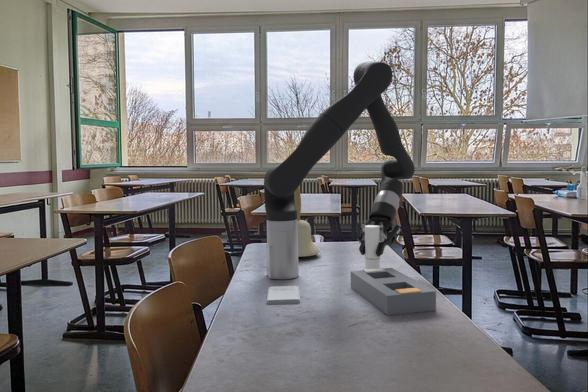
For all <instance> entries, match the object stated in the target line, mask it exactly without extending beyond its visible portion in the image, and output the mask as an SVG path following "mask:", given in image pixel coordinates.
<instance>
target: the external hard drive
mask: <svg viewBox="0 0 588 392" xmlns="http://www.w3.org/2000/svg"><path fill="white" fill-rule="evenodd" d="M266 297H267V298H266V304H267V305H277V304H278V305H279V304H281V305H282V304H283V305H284V304H300V303H301V298H300V287H299V285H283V286H282V285H281V286H278V285H276V286H275V285H274V286H269V287H268V290H267V296H266Z"/></svg>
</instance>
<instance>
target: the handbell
mask: <svg viewBox="0 0 588 392" xmlns="http://www.w3.org/2000/svg"><path fill="white" fill-rule="evenodd" d="M294 198H295V206H296V209H297V227H298V258H299V257H301V258H302V257H311V256H315V255H316V256H317V255H318V254H319V253H320V252H321V250H320V248H319V247H318V246H317V245H316V244H315V243H314V242H313V239H312V228H311V225H310V223H309V222H308V221H307V220H303V219H301V212H302V196H301V188H300V187H298V188H297V190H296V191H295V192H294Z"/></svg>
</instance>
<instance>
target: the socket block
mask: <svg viewBox="0 0 588 392" xmlns="http://www.w3.org/2000/svg"><path fill="white" fill-rule="evenodd" d="M350 288H351V289H352V290H354V291H355V292H356V293H357V294H358V295H360V296H362V297H363V298H364V299H365V300H367V302H369V303H371V304H372V305H373V306H374V307H375V308H377V309H378V310H379V311H380V312H382V313H383V314H385V316H387V317H388V316H397V315H404V314H405V315H406V314H413V313H414V314H416V313H424V312H434V311H437V294H436V293H437V291H436V290H434V289H433V288H430V287H429V286H427V285H425V284H423V283H421V282H420V281H417V280H415V279H414V278H413V277H410V276H408V275H407V274H404V273H402V272H401V271H399V270H397V269H395V268H393V267H385V268H382V267H380V268H374V269H365V268H364V269H360V270H351V271H350Z"/></svg>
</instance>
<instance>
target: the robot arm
mask: <svg viewBox="0 0 588 392" xmlns="http://www.w3.org/2000/svg"><path fill="white" fill-rule="evenodd" d="M392 69H393V68H392V67H391V66H390V64H388V63H387V62H384V61H379V60H375V61H363V62H361V63H359V64H358V65H357V66H356V67H355V69H354V71H353V82H354V84H355V86H354V87H353V88H352V89H351V90H350V91H349V92H348V93H347V94H345V95H343V96H342V97H341V98H339V99H338V100H336V101H335V102H333V103H331V105H329V106H327V108H325V109H324V110H323V111H322V112H321V113H320V114H319V115H318V116H317V117H316V118H315V120H314V121H313V122H312V123H311V124H310V126H309V127H308V128H307V129H306V131H305V132H304V134H303V136H302V138H301V140H300V142H299V144H298V145H297V146H296V148H295V149H294V150H293V151H292V152H291V153H290V154H289V156H287V157H286V158H285V159H284V160H283V161H282V162H281V163H280V164H279V165H273V166H272V167H270V168H269V169H268V170H267V171H266V172H265V175H264V179H263V194H264V195H263V197H264V208H265V209H264V210H265V215H266V218H265V219H266V242H267V243H266V244H265V254H266V257H265V259H266V275H267V277H268V278H269V280H290V279H295V278H297V277H299V275H300V274H299V272H300V271H299V257H298V227H297V209H296V206H295V198H294V192H295V191H296V190H297V188H298V187H299V186H300V185H301V184H302V182H303V181H304V180H305V178H306V176H307V175H308V174H309V173H310V171H311V170H312V169H313V167H314V166H315V165H316V164H317V163H318V162H319V161H320V160H321V159H322V158H324V156H325V155H326V154H327V153H328V152H329V151H330V150H331V149H332V148H333V147H334V146H335V145H336V144H337V143H338V141H340V140H341V138H342V137H343V136H344V135H345V133H346V132H347V131H348V130H349V129H350V127H351V126H352V125H353V124H354V123H355V122H356V120H358V118H359V117H360V116H361V115H362V114H363V113H364V111H365V110H366V111H367V113H368V115H369V118H370V121H371V123H372V127H373V128H374V132H375V134H376V138H377V142H378V144H379V148H380V151H381V153H382V155H384V156H389V157H393V158H390V159H386V160H385V161H384V162H383V163H382V165H381V167H380V170H381V171H380V172H381V180H380V187H379V190H378V192H377V195H376V196H375V199H374V201H373V204H372V206H371V210H370V213H369V215H368V216H369V217H368V220H366V222H365V223H361V222H357V224H356V239H357V241H358V242H359V243H360V244H359V248H358V250H359V253H360V255H362V256H365V234H364V233H365V226H366V225H378V226H380V242H379V244H378V247H377V250H376V255H377V256H378V257H380V258H381V256H382V255H383V254H384V251H385V247H387V246H393V244H394V243H395V242H396V240H397V238H399V236H400V234H401V232H402V229H401V228H400V225H399V224H396V225H394V222H395V220H396V219H395V218H396V215H397V214H398V213H397V212H398V210H399V206H400V201H401V197H402V194H403V189H404V186H403V185H404V184H403V183H402V182H401V181H402V180H409V179H411V178H412V177H413V176H414V174H415V170H416V169H415V165H414V164H415V163H414V162H413V159H412V158H411V156H410V155H409V153H408V152H407V149H406V148H405V146H404V144H403V142H402V139H401V134H400V131H399V128H398V125H397V123H396V121H395V119H394V117H393V116H392V114H391V113H390V111H389V110H388V108H387V105H386V104H385V102H384V99H383V97H382V94H383V93H384V92H386V91H387V89H388V88H389V86H390V85H391V84H392V81H393V76H394V75H393V70H392ZM299 188H300V187H299ZM388 233H389V234H388ZM387 234H388V235H387Z"/></svg>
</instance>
